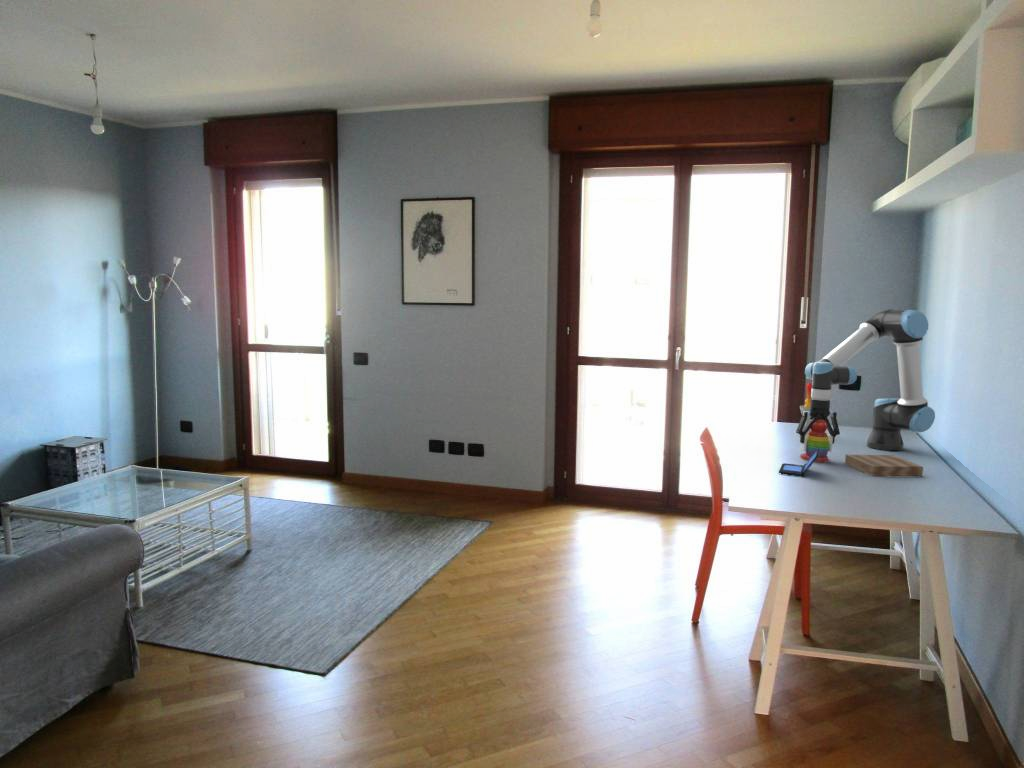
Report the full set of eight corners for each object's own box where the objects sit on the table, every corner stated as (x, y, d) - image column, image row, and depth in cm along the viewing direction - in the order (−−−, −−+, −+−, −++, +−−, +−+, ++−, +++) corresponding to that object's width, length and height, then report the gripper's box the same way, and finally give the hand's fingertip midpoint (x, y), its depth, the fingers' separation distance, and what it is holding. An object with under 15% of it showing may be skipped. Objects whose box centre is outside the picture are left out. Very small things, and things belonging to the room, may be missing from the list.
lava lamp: (818, 438, 346) (824, 367, 342) (799, 437, 348) (804, 366, 344) (814, 435, 355) (820, 365, 351) (795, 434, 357) (800, 364, 352)
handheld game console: (782, 466, 287) (783, 444, 285) (818, 470, 281) (819, 447, 280) (778, 474, 273) (780, 451, 271) (815, 479, 267) (817, 455, 266)
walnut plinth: (892, 464, 293) (892, 455, 293) (922, 476, 274) (923, 466, 273) (845, 464, 292) (845, 454, 292) (871, 476, 273) (872, 466, 272)
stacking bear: (824, 457, 303) (828, 416, 301) (833, 463, 293) (836, 421, 291) (798, 456, 304) (801, 415, 302) (806, 462, 294) (809, 419, 292)
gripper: (842, 398, 300) (838, 449, 303) (789, 397, 299) (785, 448, 301) (851, 400, 293) (847, 453, 295) (797, 399, 291) (793, 452, 294)
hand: (816, 450), depth 298 cm, fingers open, 10 cm apart
